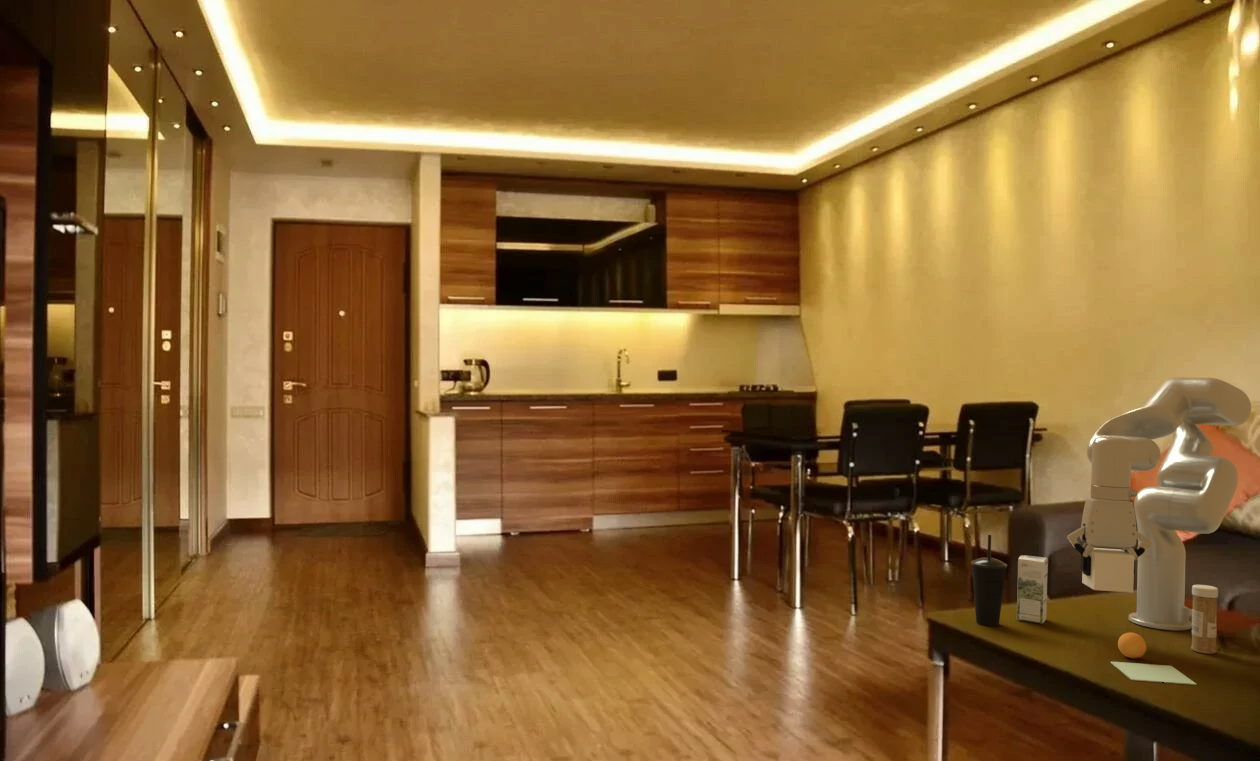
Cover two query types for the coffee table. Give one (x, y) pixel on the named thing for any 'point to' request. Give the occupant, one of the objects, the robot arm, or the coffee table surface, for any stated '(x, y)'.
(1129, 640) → the ball
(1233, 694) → the coffee table surface
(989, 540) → the drinking cup
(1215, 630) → the sprinkles bottle
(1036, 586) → the syrup box
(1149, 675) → the mark
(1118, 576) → the cream matte cube
